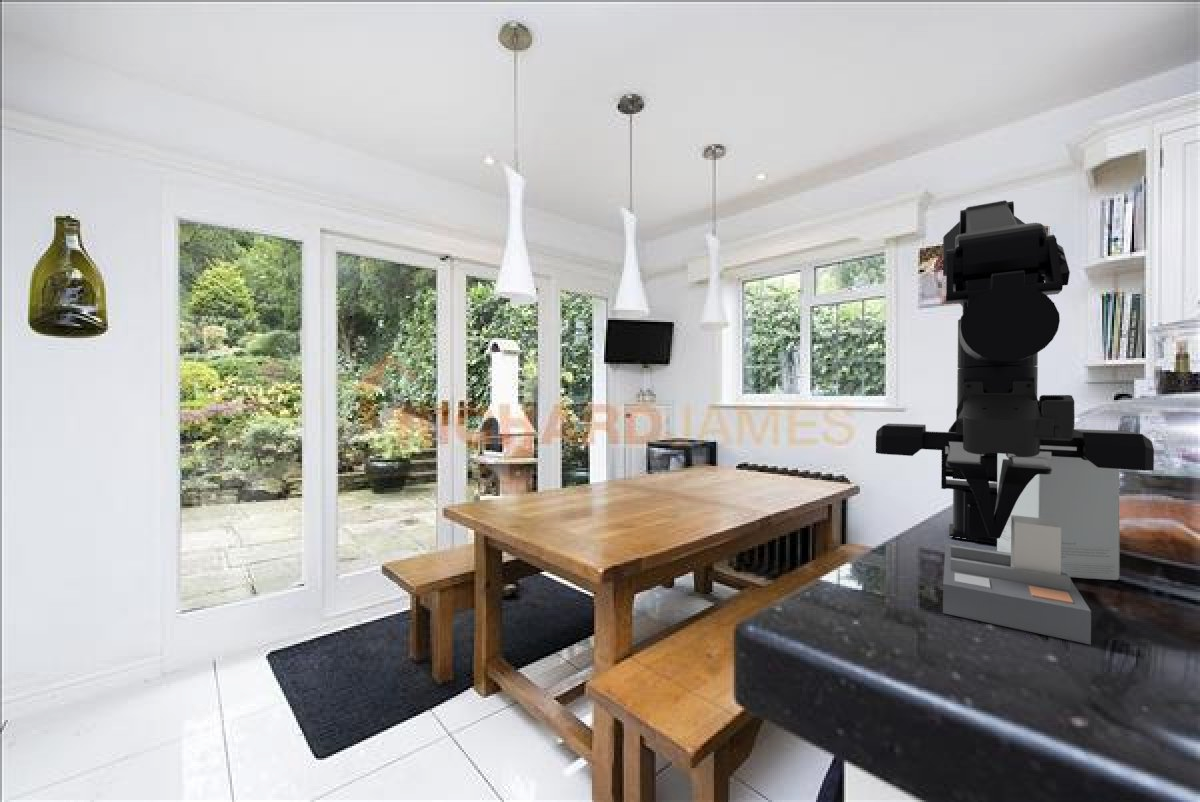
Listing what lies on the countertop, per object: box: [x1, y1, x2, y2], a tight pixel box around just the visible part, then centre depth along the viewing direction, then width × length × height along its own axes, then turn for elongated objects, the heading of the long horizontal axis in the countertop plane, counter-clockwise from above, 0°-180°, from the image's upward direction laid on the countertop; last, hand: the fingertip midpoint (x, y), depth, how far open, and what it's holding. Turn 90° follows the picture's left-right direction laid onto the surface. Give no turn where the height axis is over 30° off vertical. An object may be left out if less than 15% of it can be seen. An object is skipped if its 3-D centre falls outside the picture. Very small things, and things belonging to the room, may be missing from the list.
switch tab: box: [1011, 515, 1061, 575], centre depth 43 cm, size 3×3×5 cm
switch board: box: [942, 543, 1092, 646], centre depth 45 cm, size 14×9×4 cm, turn 144°
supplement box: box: [996, 453, 1120, 581], centre depth 53 cm, size 7×7×13 cm
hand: (994, 537), depth 45 cm, fingers closed
